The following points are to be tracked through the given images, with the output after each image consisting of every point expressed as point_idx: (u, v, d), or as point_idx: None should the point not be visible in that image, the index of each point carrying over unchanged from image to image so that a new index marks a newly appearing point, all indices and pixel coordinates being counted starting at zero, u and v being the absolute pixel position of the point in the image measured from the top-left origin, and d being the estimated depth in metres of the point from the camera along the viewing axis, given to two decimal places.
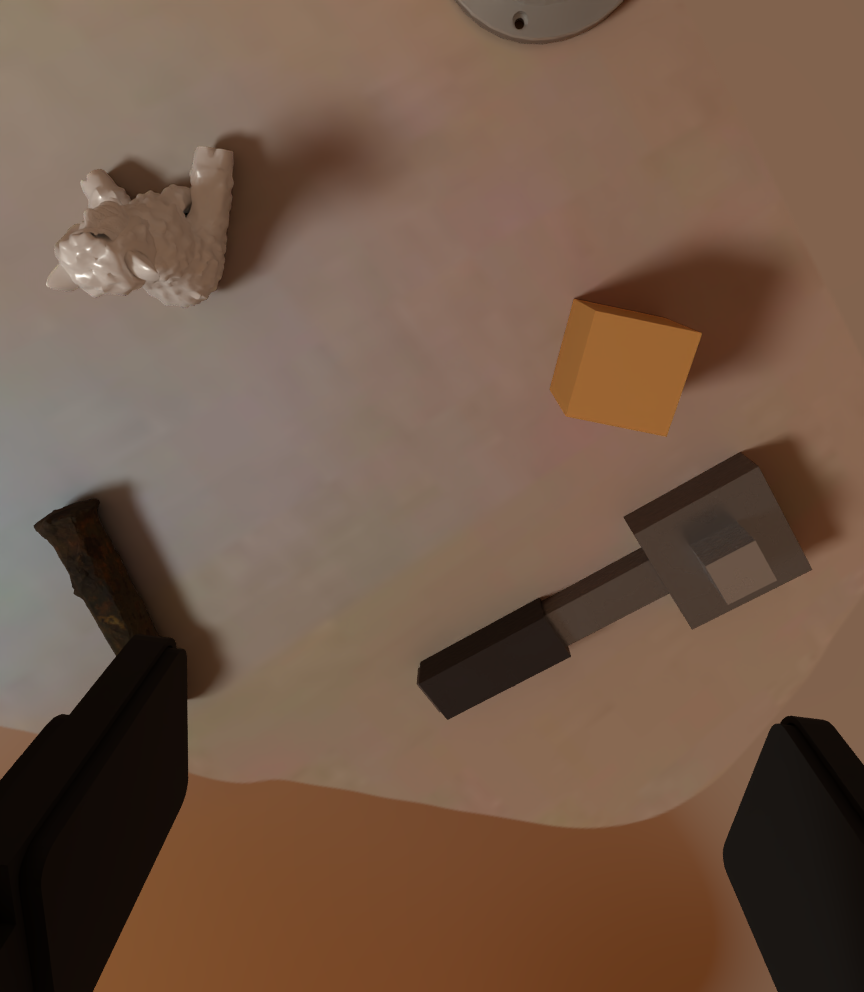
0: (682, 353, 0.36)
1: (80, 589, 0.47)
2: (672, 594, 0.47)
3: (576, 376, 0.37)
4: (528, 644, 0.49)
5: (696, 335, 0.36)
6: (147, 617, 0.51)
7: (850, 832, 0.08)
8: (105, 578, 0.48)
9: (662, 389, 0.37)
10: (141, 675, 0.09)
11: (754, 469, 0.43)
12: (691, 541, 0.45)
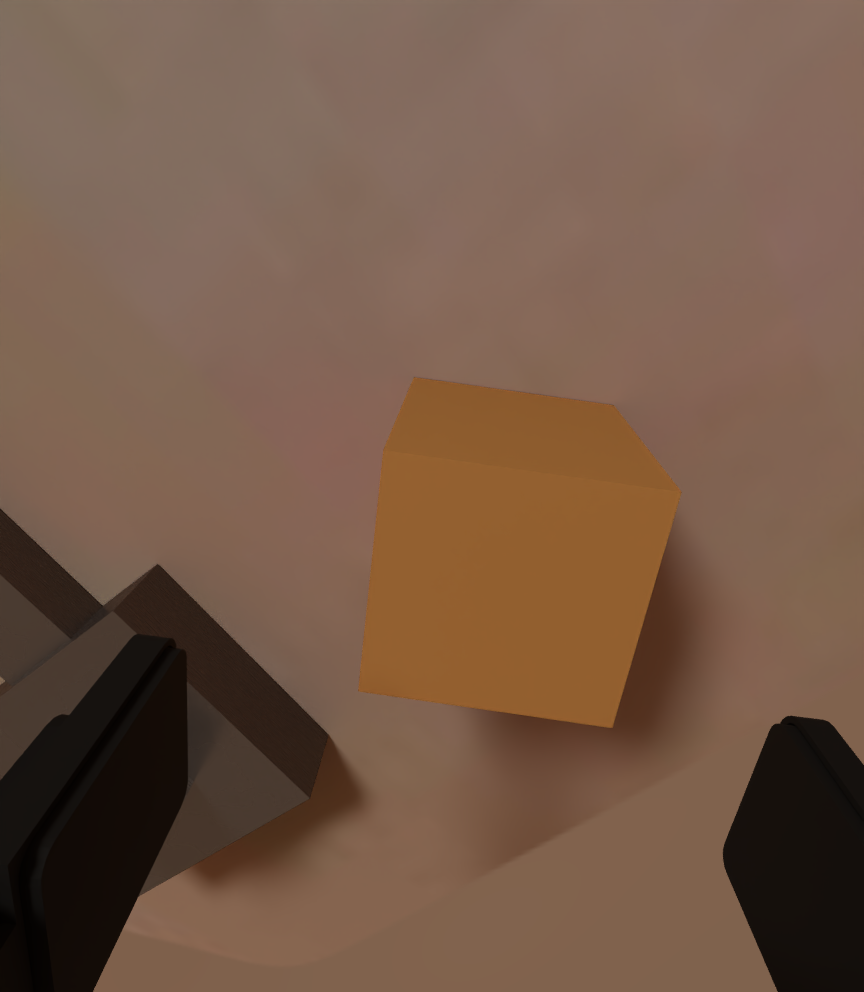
0: (564, 697, 0.15)
1: None
2: (1, 699, 0.21)
3: (497, 463, 0.13)
4: None
5: (606, 718, 0.15)
6: None
7: (850, 832, 0.08)
8: None
9: (474, 668, 0.15)
10: (141, 675, 0.09)
11: (303, 793, 0.22)
12: None
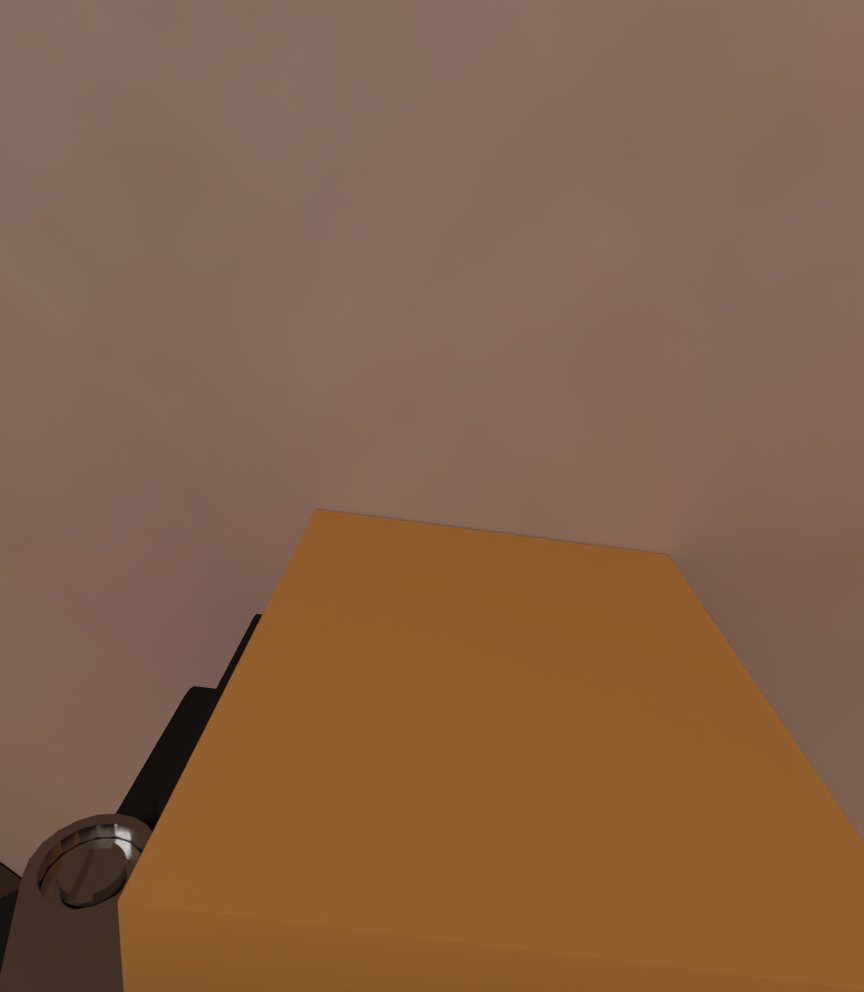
0: None
1: None
2: None
3: (451, 916, 0.05)
4: None
5: None
6: None
7: None
8: None
9: None
10: None
11: None
12: None
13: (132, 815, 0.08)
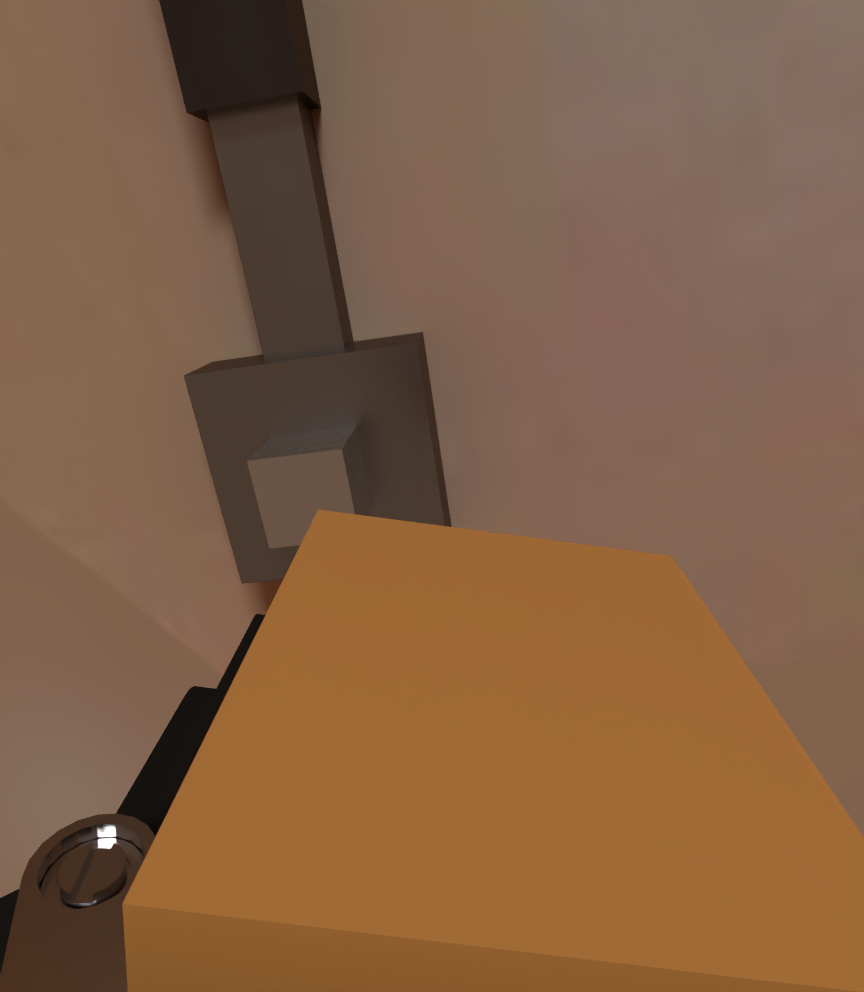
0: None
1: None
2: (269, 366, 0.25)
3: (457, 918, 0.05)
4: (245, 23, 0.21)
5: None
6: None
7: None
8: None
9: None
10: None
11: None
12: (363, 431, 0.25)
13: (132, 815, 0.08)
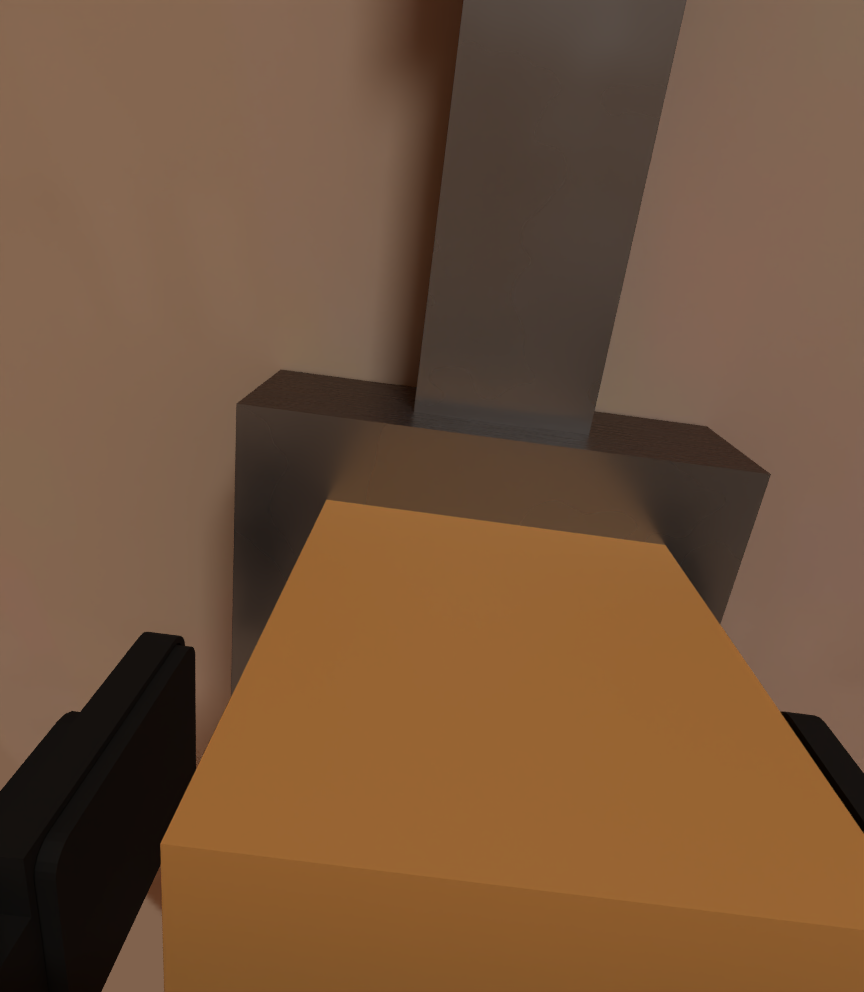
0: None
1: None
2: (438, 436, 0.11)
3: (463, 860, 0.05)
4: None
5: None
6: None
7: None
8: None
9: None
10: (151, 672, 0.09)
11: None
12: None
13: None
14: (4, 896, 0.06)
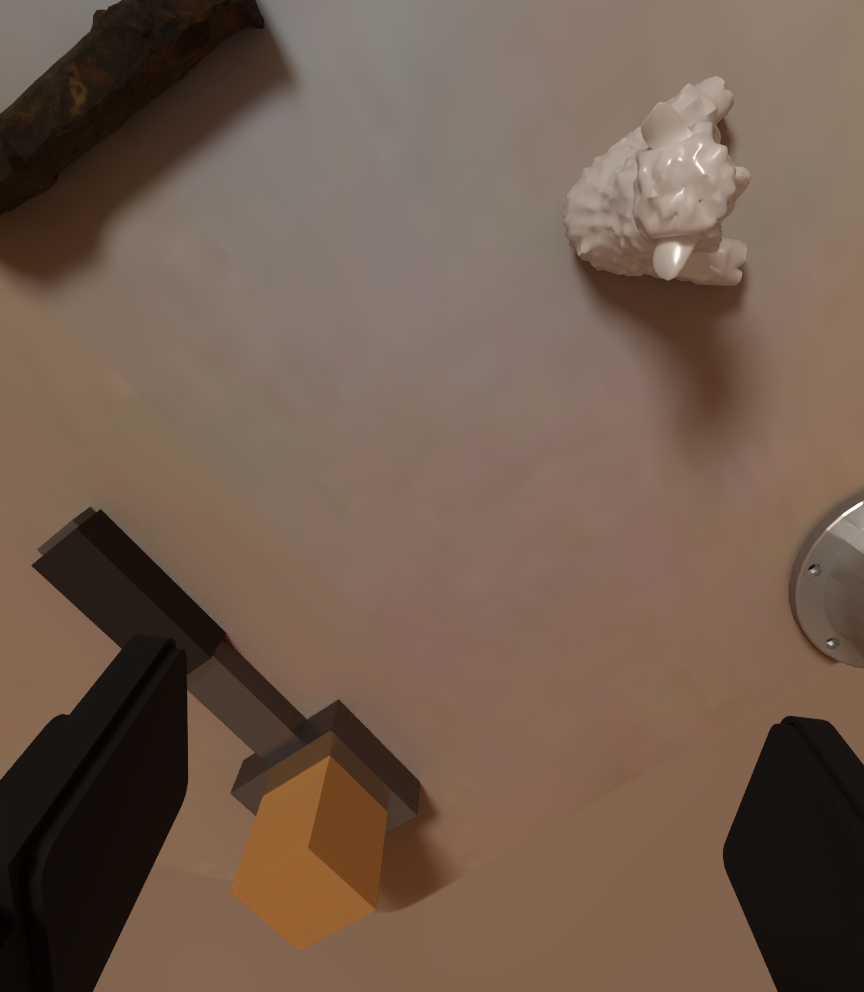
0: (352, 912, 0.38)
1: (112, 25, 0.28)
2: (268, 771, 0.44)
3: (260, 872, 0.38)
4: None
5: (371, 908, 0.38)
6: (95, 142, 0.32)
7: (850, 832, 0.08)
8: (149, 68, 0.29)
9: (319, 922, 0.39)
10: (141, 675, 0.09)
11: (414, 813, 0.45)
12: None
13: None
14: None
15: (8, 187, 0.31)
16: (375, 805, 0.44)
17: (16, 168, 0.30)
